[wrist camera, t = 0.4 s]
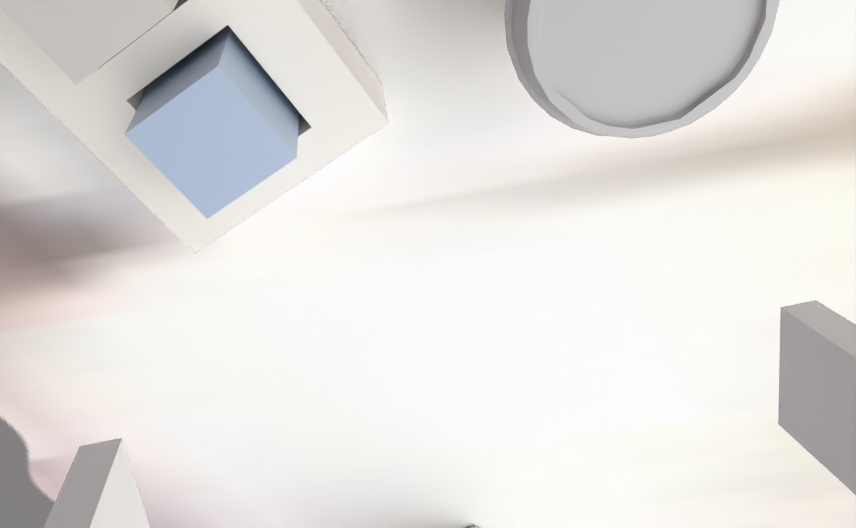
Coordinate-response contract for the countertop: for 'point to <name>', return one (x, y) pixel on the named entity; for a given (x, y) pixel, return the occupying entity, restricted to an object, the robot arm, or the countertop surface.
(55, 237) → the countertop surface
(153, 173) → the keypad base
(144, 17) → the key grey
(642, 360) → the countertop surface
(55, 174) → the countertop surface
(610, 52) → the disposable coffee cup
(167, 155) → the key blue
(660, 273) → the countertop surface
